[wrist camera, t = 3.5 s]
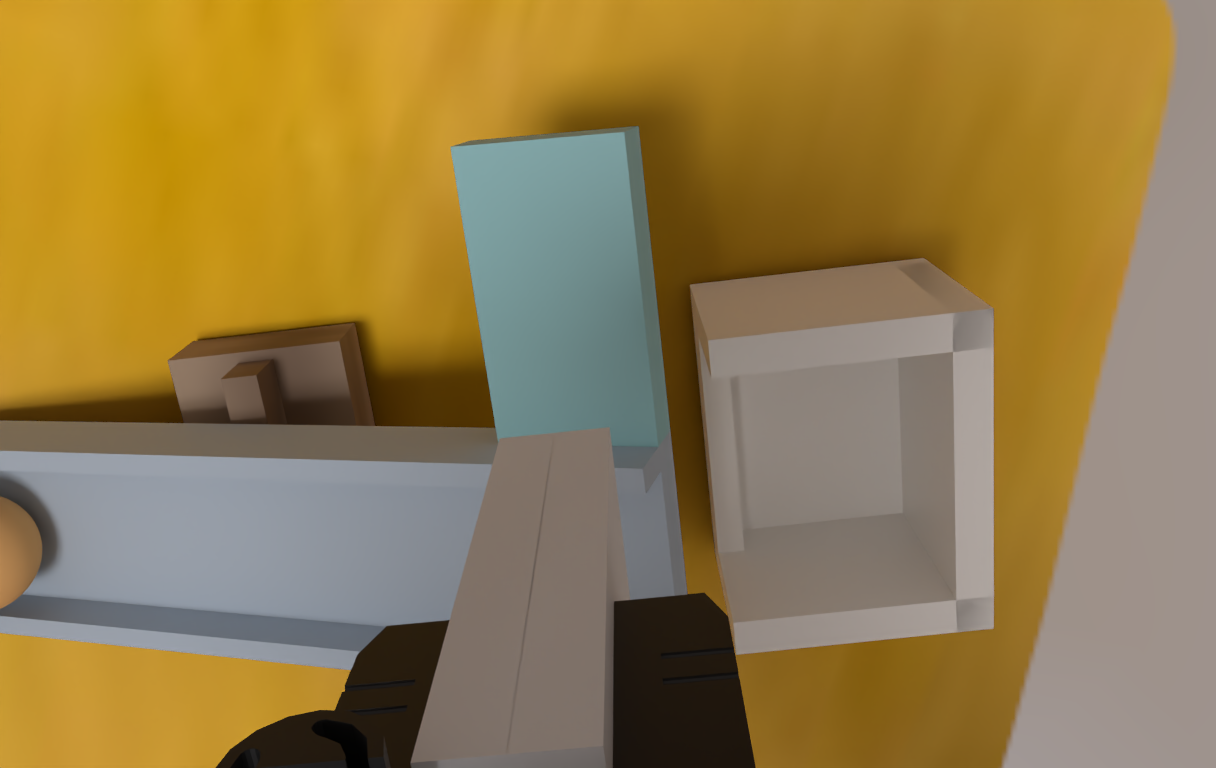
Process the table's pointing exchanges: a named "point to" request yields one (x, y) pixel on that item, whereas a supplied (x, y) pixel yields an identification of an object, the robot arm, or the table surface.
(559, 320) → the lever
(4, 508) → the ball
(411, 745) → the robot arm
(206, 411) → the brown recessed block
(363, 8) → the table surface
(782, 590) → the bin
